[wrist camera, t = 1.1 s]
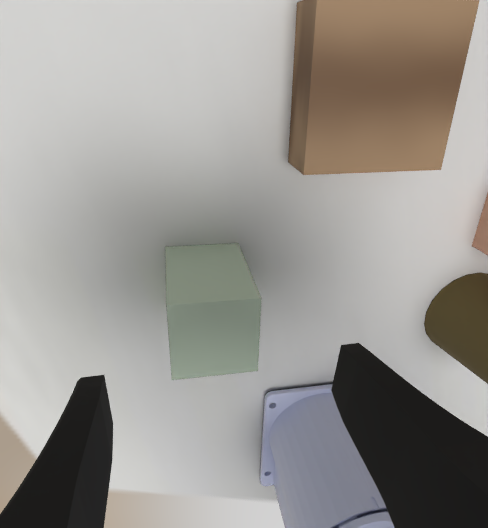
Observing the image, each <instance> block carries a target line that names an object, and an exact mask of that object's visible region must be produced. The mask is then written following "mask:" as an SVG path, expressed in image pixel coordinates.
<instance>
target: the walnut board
mask: <svg viewBox="0 0 488 528" xmlns="http://www.w3.org/2000/svg"><path fill="white" fill-rule="evenodd" d="M478 4H479V0H303V1H300V2H298V3H297V13H296V31H295V49H294V67H293V85H292V103H291V121H290V139H289V156H288V162H289V163H290V164H291V165H292V166H294V167H295V168H296V169H297V170H298V171H300V172H301V173H302V174H303V175H314V174H340V173H367V172H393V171H419V170H441V167H442V162H443V158H444V154H445V149H446V145H447V140H448V136H449V132H450V127H451V123H452V118H453V114H454V110H455V105H456V101H457V97H458V92H459V88H460V83H461V79H462V75H463V70H464V66H465V61H466V57H467V53H468V48H469V44H470V40H471V35H472V31H473V26H474V22H475V18H476V13H477V9H478Z"/></svg>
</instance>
